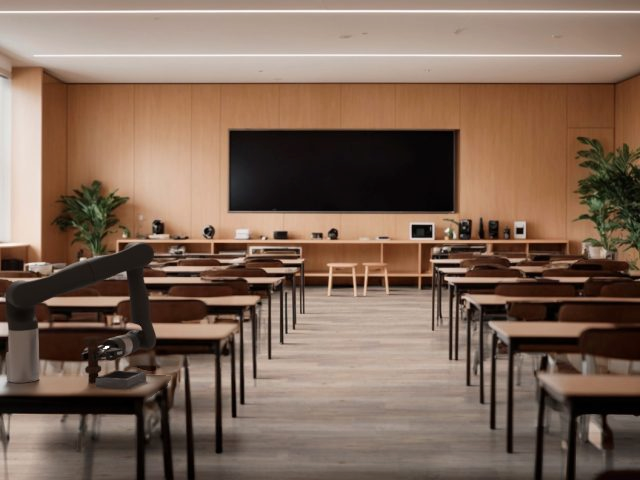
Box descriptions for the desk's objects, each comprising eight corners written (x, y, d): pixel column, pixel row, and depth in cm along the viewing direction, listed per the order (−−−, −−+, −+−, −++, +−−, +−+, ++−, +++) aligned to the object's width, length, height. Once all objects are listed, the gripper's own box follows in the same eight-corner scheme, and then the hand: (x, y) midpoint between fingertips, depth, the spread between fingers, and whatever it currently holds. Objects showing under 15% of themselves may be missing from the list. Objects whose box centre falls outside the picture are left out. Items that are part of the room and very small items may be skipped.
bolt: (96, 385, 227) (95, 338, 227) (81, 384, 228) (80, 338, 228) (105, 381, 233) (104, 335, 232) (91, 380, 234) (90, 335, 233)
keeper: (95, 387, 224) (95, 377, 224) (115, 379, 235) (115, 370, 235) (127, 389, 221) (127, 379, 221) (146, 381, 232) (145, 372, 232)
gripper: (98, 336, 246) (68, 344, 229) (134, 337, 242) (106, 346, 225) (99, 357, 246) (69, 367, 229) (135, 359, 242) (107, 369, 226)
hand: (87, 357), depth 228 cm, fingers closed on bolt, 3 cm apart
